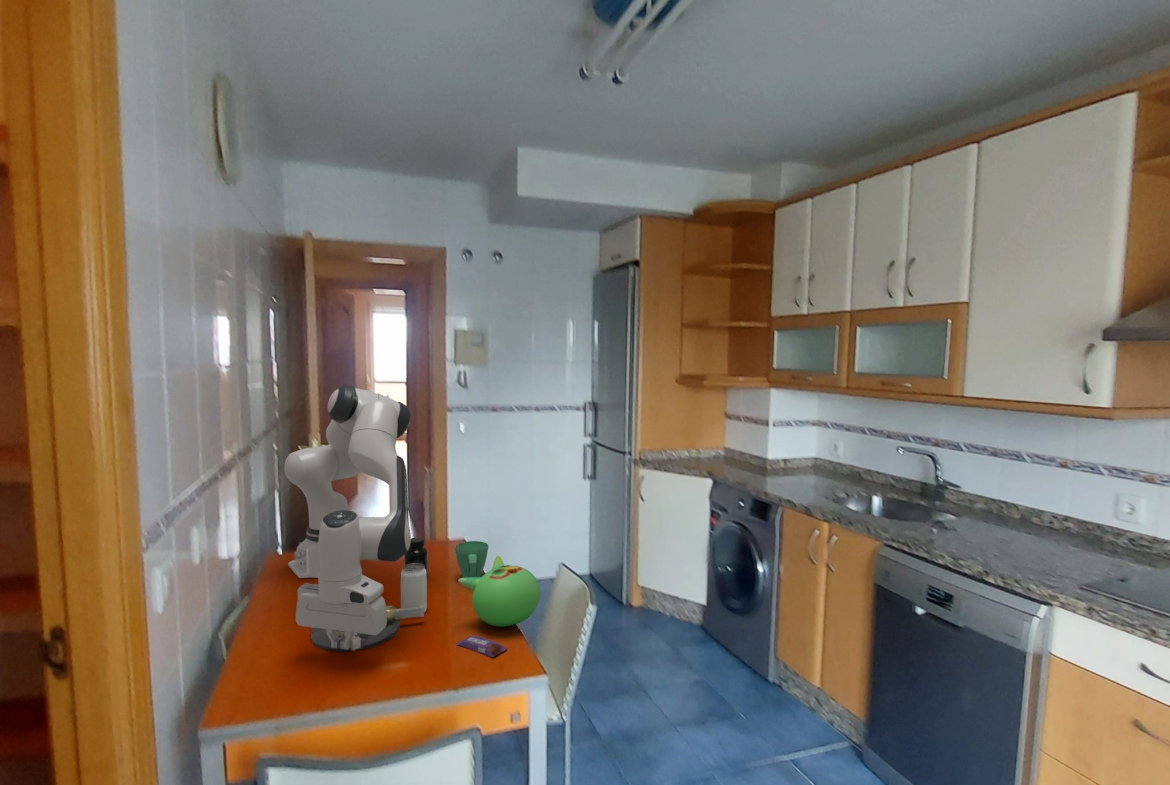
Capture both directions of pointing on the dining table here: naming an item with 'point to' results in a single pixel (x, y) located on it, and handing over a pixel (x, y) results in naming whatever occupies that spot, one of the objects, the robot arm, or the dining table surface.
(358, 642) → the front knob
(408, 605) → the can
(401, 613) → the left knob
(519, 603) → the toy bird
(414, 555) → the supplement bottle
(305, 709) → the dining table surface
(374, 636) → the levelling plate
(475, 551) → the mug
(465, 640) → the snack package
